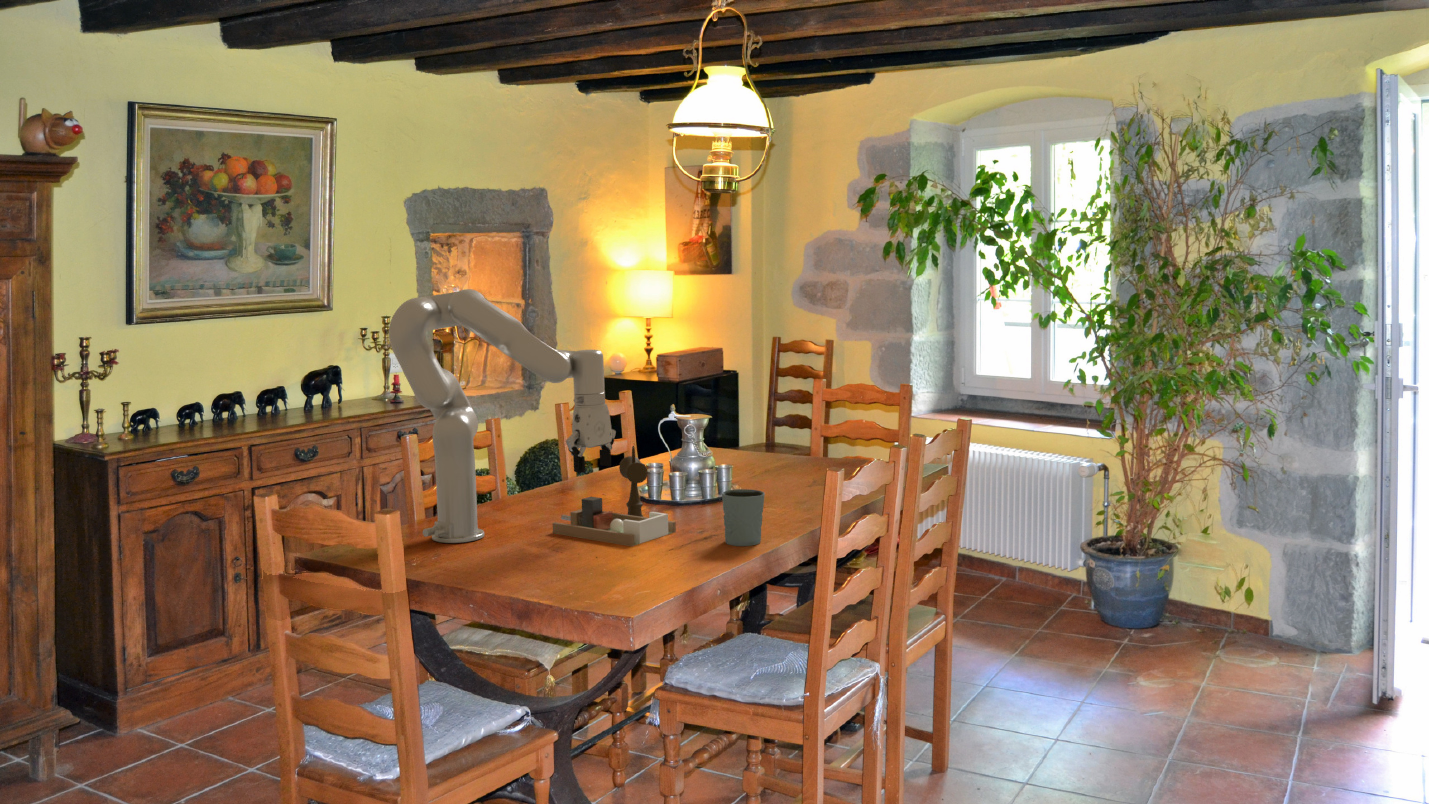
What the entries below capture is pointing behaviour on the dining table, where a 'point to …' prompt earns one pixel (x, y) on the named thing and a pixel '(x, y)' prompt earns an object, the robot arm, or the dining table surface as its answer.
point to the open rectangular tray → (633, 528)
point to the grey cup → (743, 516)
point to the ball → (617, 525)
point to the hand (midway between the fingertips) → (592, 468)
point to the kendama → (633, 481)
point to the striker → (593, 514)
